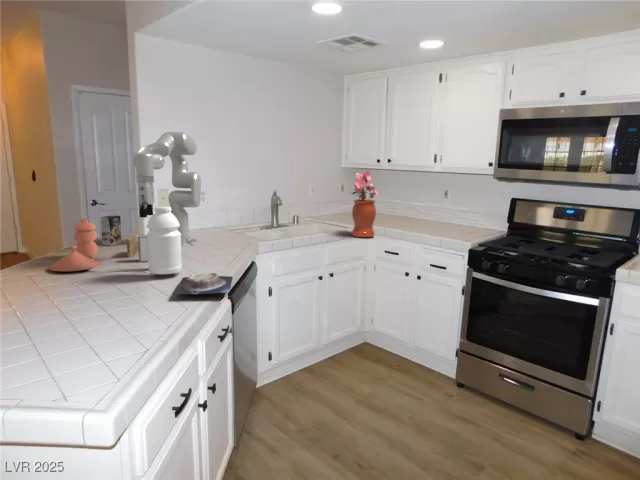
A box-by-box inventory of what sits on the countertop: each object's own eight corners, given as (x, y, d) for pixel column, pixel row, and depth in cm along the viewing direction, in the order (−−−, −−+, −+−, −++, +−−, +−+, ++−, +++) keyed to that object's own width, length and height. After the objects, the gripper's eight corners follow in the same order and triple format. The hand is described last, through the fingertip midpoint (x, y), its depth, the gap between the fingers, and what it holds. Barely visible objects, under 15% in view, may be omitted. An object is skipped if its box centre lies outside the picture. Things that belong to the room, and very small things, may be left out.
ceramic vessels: (95, 270, 184) (92, 227, 181) (40, 272, 179) (36, 228, 176) (112, 254, 218) (109, 217, 215) (66, 255, 212) (63, 217, 209)
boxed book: (159, 259, 208) (158, 235, 206) (156, 261, 203) (155, 237, 201) (142, 259, 207) (141, 235, 205) (139, 261, 202) (138, 236, 200)
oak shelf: (165, 251, 226) (164, 235, 224) (157, 257, 211) (157, 239, 210) (136, 251, 224) (135, 235, 222) (127, 257, 210) (126, 239, 208)
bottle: (188, 268, 191) (186, 206, 186) (168, 275, 178) (165, 209, 173) (162, 265, 195) (160, 204, 190) (141, 272, 182) (137, 207, 177)
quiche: (229, 293, 157) (229, 282, 156) (172, 294, 155) (172, 284, 154) (232, 276, 177) (232, 267, 177) (182, 278, 175) (182, 268, 174)
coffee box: (111, 245, 239) (110, 217, 236) (101, 245, 240) (100, 216, 237) (122, 243, 247) (120, 215, 245) (112, 242, 249) (111, 215, 246)
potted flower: (352, 238, 282) (355, 170, 274) (344, 232, 307) (347, 169, 299) (380, 238, 285) (383, 170, 277) (370, 232, 310) (373, 170, 302)
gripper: (147, 180, 191) (149, 218, 194) (158, 179, 208) (159, 214, 211) (130, 180, 191) (132, 218, 193) (142, 179, 208) (143, 214, 210)
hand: (146, 216), depth 202 cm, fingers open, 9 cm apart
